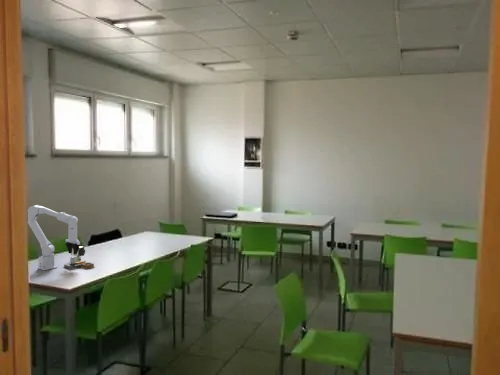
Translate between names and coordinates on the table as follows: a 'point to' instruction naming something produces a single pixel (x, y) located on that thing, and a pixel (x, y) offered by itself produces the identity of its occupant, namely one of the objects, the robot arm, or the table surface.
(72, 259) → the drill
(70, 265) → the socket block
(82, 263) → the drift key
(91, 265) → the rack
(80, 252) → the pneumatic valve
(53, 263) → the robot arm
